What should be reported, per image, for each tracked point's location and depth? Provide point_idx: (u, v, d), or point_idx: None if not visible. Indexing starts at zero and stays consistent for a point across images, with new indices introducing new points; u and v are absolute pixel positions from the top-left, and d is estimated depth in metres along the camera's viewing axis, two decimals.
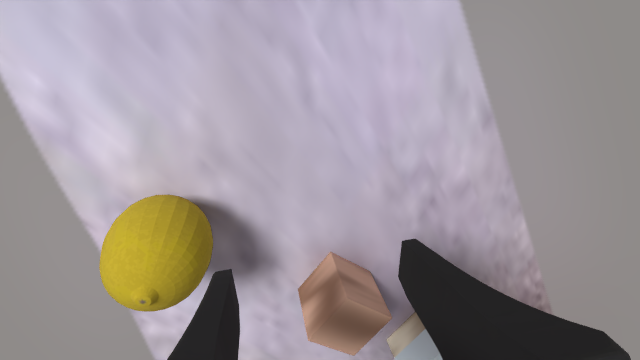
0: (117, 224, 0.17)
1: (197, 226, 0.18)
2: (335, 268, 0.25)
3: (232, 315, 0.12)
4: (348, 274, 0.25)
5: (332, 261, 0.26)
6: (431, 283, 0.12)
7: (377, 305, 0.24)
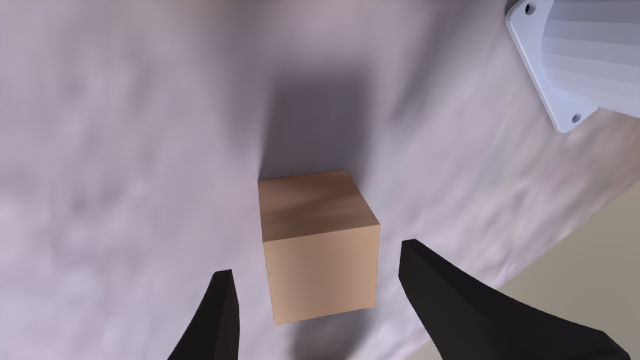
0: None
1: None
2: None
3: (232, 315, 0.12)
4: None
5: None
6: (431, 283, 0.12)
7: None
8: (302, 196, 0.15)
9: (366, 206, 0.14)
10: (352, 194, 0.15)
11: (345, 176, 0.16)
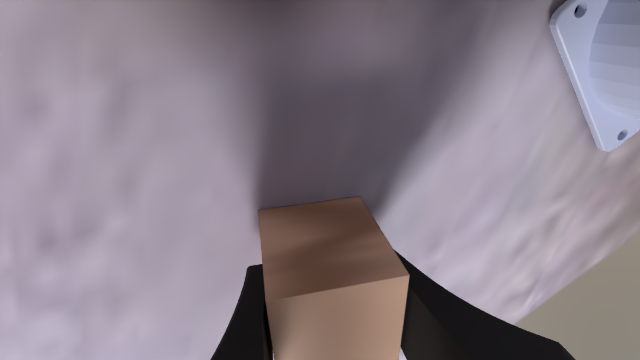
0: None
1: None
2: None
3: None
4: None
5: None
6: None
7: None
8: (312, 233, 0.12)
9: (389, 248, 0.11)
10: (371, 231, 0.12)
11: (360, 206, 0.14)
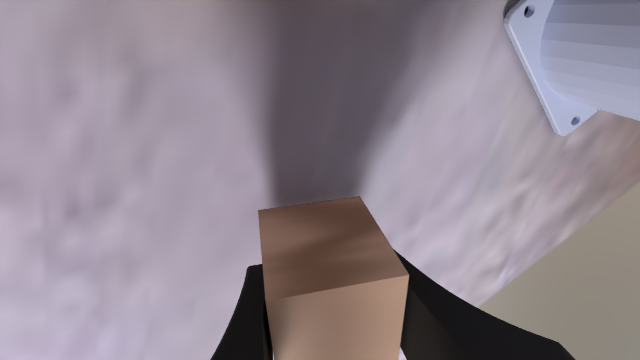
0: None
1: None
2: None
3: None
4: None
5: None
6: None
7: None
8: (312, 233, 0.12)
9: (389, 247, 0.12)
10: (371, 231, 0.12)
11: (360, 206, 0.14)
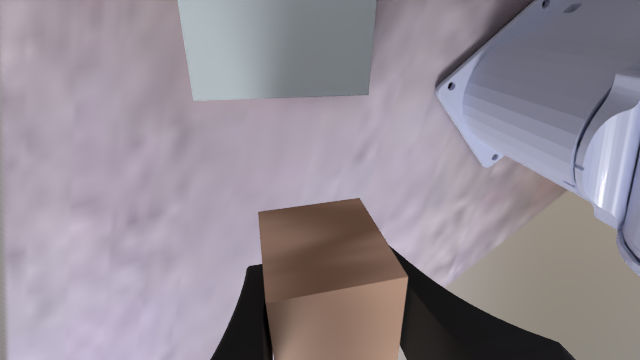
0: None
1: None
2: None
3: None
4: None
5: None
6: None
7: None
8: (311, 235, 0.12)
9: (388, 249, 0.12)
10: (370, 233, 0.12)
11: (359, 208, 0.14)
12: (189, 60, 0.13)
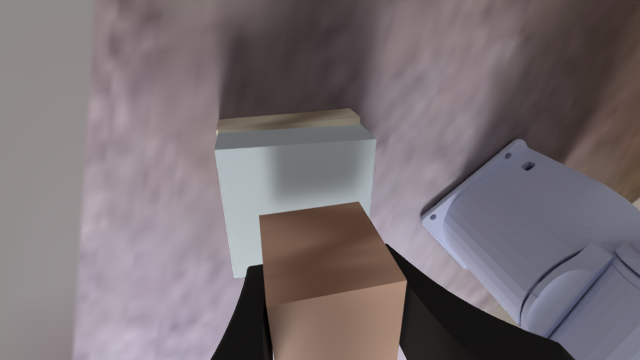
0: None
1: None
2: None
3: None
4: None
5: None
6: None
7: None
8: (311, 238, 0.13)
9: (387, 253, 0.12)
10: (370, 237, 0.13)
11: (359, 211, 0.14)
12: (232, 256, 0.18)
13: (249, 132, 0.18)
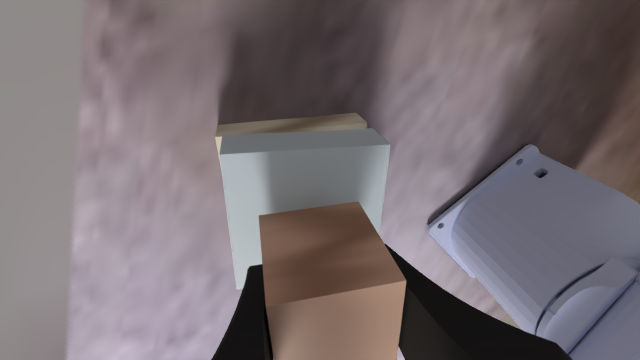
0: None
1: None
2: None
3: None
4: None
5: None
6: None
7: None
8: (311, 238, 0.13)
9: (387, 253, 0.12)
10: (369, 237, 0.13)
11: (358, 211, 0.14)
12: (235, 266, 0.17)
13: (255, 135, 0.17)
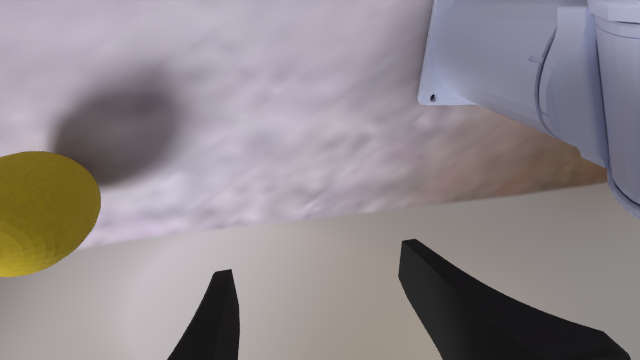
0: None
1: None
2: None
3: (232, 315, 0.12)
4: None
5: None
6: (431, 283, 0.12)
7: None
8: None
9: None
10: None
11: None
12: None
13: None
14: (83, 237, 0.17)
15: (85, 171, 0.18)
